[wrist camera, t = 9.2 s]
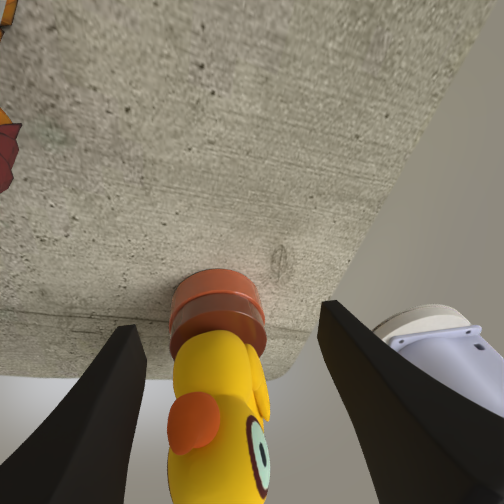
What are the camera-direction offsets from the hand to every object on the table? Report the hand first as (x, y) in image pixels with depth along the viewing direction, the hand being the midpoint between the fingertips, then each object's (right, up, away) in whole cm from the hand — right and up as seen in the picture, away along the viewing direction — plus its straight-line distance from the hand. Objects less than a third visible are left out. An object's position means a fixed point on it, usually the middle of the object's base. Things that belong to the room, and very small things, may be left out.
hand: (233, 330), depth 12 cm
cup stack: (-2, -1, +13) cm, 13 cm away
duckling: (-2, -3, +9) cm, 10 cm away
